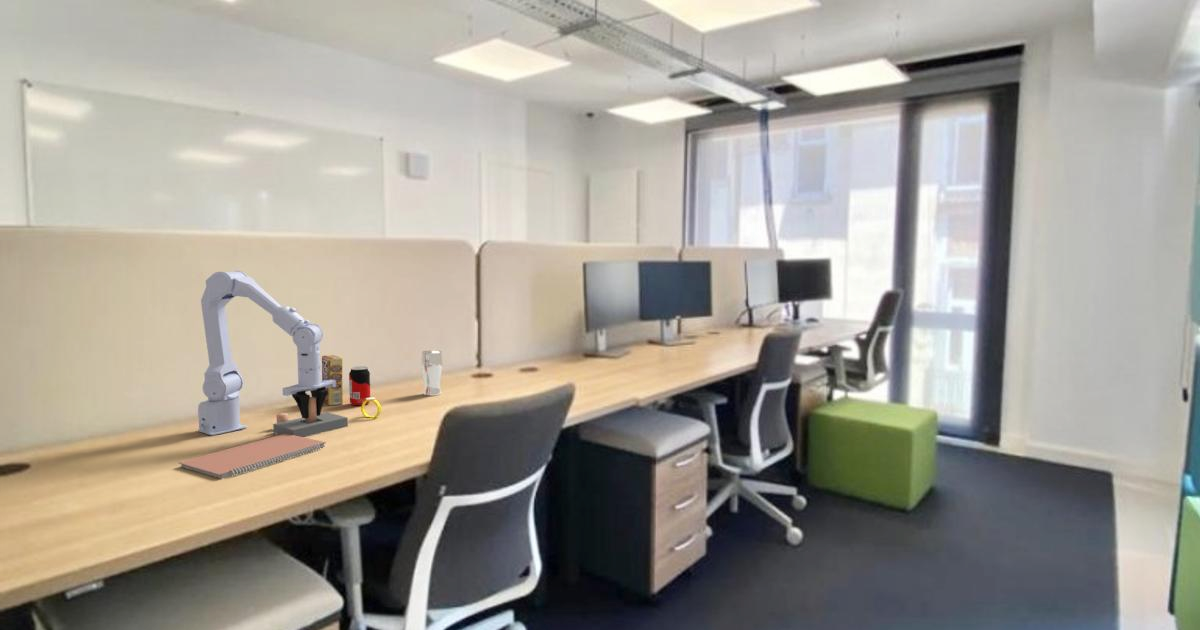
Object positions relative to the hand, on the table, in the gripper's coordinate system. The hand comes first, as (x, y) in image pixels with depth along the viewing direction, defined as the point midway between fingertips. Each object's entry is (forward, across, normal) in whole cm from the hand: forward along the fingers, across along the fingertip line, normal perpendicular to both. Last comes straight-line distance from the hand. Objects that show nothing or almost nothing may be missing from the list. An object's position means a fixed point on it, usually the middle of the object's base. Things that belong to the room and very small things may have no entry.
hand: (311, 416), depth 177 cm
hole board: (+4, 0, 0) cm, 4 cm away
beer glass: (+4, +50, +8) cm, 51 cm away
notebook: (+4, -21, -12) cm, 25 cm away
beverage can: (+4, +26, +15) cm, 30 cm away
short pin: (+4, -4, +8) cm, 9 cm away
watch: (+4, +18, -2) cm, 19 cm away
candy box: (+4, +22, +24) cm, 33 cm away
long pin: (+2, 0, 0) cm, 2 cm away
